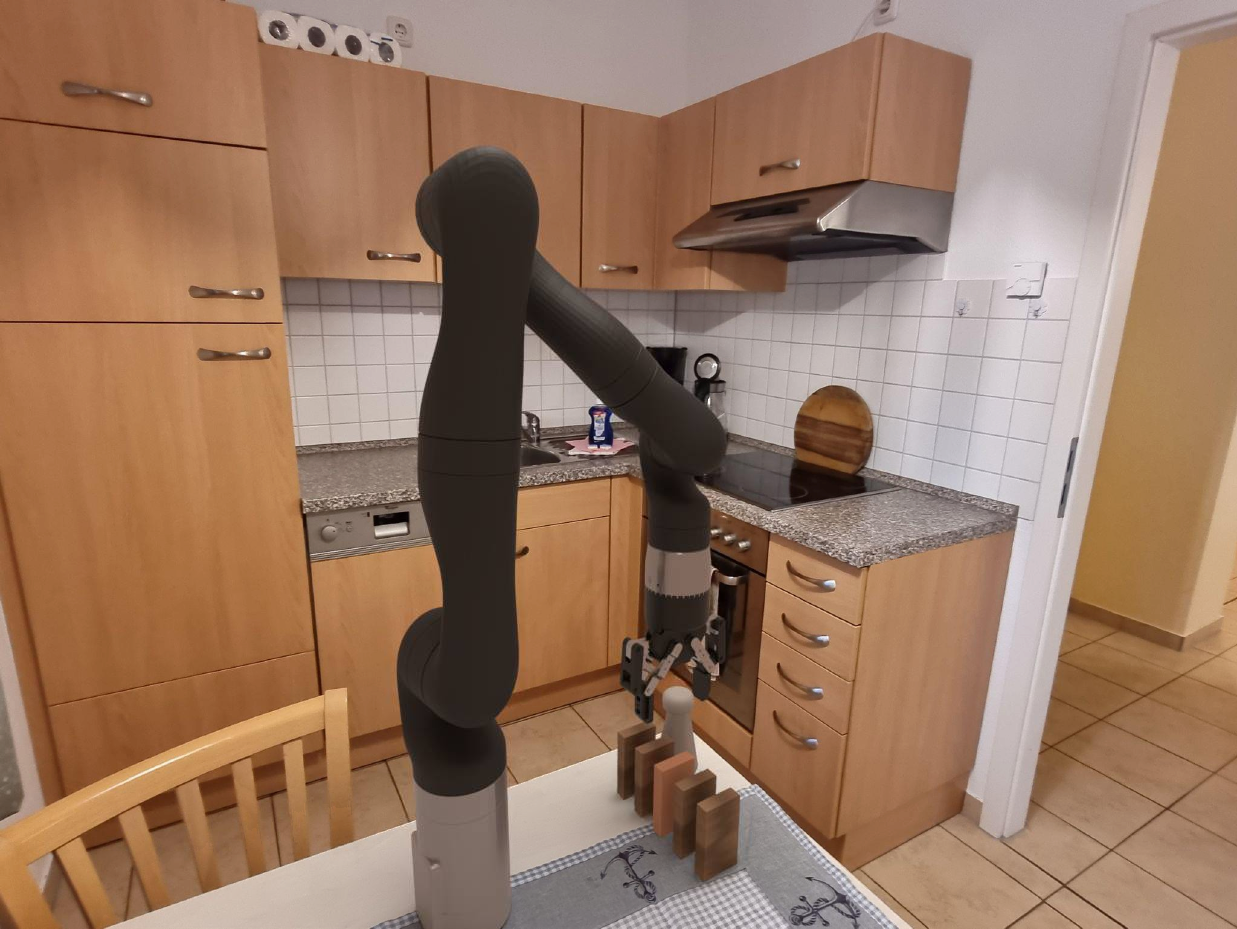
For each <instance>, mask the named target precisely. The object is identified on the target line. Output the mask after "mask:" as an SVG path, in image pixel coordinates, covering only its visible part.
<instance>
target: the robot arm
mask: <svg viewBox="0 0 1237 929" xmlns="http://www.w3.org/2000/svg"><path fill="white" fill-rule="evenodd" d="M414 203H415V204H414V208H415V209H414V212H415V213H414V214H415V220H416V226H417V228H418V231H419V233H420V235H421V237H422V238H423V240H424V242H425V243H426V245H427V246H428V247H429V248H430V250H432V252H434V253H435V255H438V256H439V257H440V258H441V259H440V260H441V286H442V287H441V288H442V290H441V292H442V293H441V294H442V299H441V316H440V325H439V331H438V334H437V340H436V343H435V347H434V350H433V353H432V354H433V355H432V357H431V361H430V365H429V367H428V372H427V375H426V378H425V383H424V388H423V390H422V396H421V402H420V407H419V415H418V416H419V417H418V428H417V430H418V433H417V461H416V462H417V466H416V468H417V469H416V471H417V473H416V474H417V488H418V493H419V494H418V495H419V500H420V504H421V509H422V511H423V516H424V519H425V523H426V525H427V528H428V530H427V531H428V533H429V537H430V540H431V543H432V547H433V551H434V554H435V557H436V560H437V561H436V562H437V565H438V568H439V573H440V579H441V580H440V581H441V590H442V606H439V607H435V608H432V609H429V610H427V611H425V612H423V613H422V614H420V616H418V617H417V618H416V619H414V621H413V622H412V623H411V624H410V626H409V627H408V628H407V630H406V631H405V633H404V635H403V637H402V638H401V642H400V644H399V648H398V651H397V658H396V684H397V686H396V688H397V696H398V704H399V714H400V723H401V730H402V732H401V733H402V737H403V743H404V745H405V746H404V747H405V749H406V750H407V754H408V756H409V758H410V760H411V765H412V777H413V778H412V779H413V792H414V796H413V797H414V811H415V825H416V826H415V827H416V830H414V831H413V832H411V834H410V840H411V855H412V857H411V859H412V870H413V885H414V886H413V887H414V890H413V891H414V904H415V911H416V914H417V916H418V919H419V921H420V923H421V925H422V928H423V929H502V927H503V926H504V925H505V923H506V922H507V920H508V919H509V915H510V913H511V906H512V894H511V893H512V883H511V860H510V859H511V858H510V857H511V856H510V831H509V830H510V829H509V827H510V826H509V825H510V824H509V797H508V793H509V792H508V766H507V764H508V763H507V762H508V760H507V759H508V755H507V752H508V751H507V741H506V738H505V734H504V732H503V730H502V728H501V725H500V724H499V723H498V721H497V719H496V718H497V717H498V716H499V715H500V714H501V712H502V711H504V709H505V707H506V706H507V705H508V703H509V701H510V699H511V697H512V695H513V693H514V690H515V688H516V683H517V680H518V676H519V674H518V673H519V667H520V644H519V629H518V628H519V627H518V611H517V608H518V607H517V594H516V592H517V591H516V554H517V531H518V530H517V526H518V525H517V522H518V519H517V518H518V501H519V500H518V499H519V498H518V497H519V487H520V486H519V485H520V477H521V476H520V474H521V458H522V436H523V433H522V432H523V398H524V397H523V393H524V372H525V371H524V370H525V365H524V364H525V331H526V328H525V327H526V326H527V328H528V329H530V330H531V331H532V333H534V334H535V335H536V336H537V337H538V338H539V339H540V340H541V341H542V342H543V343H544V344H546V346H547V347H548V348H550V349H549V350H551V351H553V353H554V354H555V355H556V356H558V358H559V359H560V360H561V361H562V362H563V363H564V364H565V365H566V366H567V367H568V368H569V369H570V370H571V371H572V373H574V375H575V376H576V377H578V378H579V380H580V381H581V382H582V383H583V384H584V385H585V386H586V387H587V388H588V389H589V390H590V392H592V393H593V395H594V396H595V397H596V398H598V400H599V401H600V402H601V403H602V404H603V405H604V406H605V407H606V409H608V410H609V411H610V412H611V413H612V414H614V415H615V416H617V417H618V418H619V419H620V420H622V421H624V422H626V423H629V424H631V425H632V426H634V427H635V428H636V429H638V430H639V431H640V432H639V437H638V455H639V462H640V463H639V464H640V470H641V475H642V481H643V484H644V485H643V486H644V491H645V494H646V498H647V502H648V519H647V520H648V527H647V528H648V529H647V530H648V531H647V532H648V533H647V549H646V555H645V562H644V604H643V610H644V611H643V612H644V613H643V616H644V619H645V622H646V627H647V628H646V630H645V634H644V636H643V637H641V638H637V639H632V638H631V637H629V636H627V637H625V638H623V640H622V645H621V646H622V647H621V658H620V659H621V660H620V661H621V662H620V677H619V685H620V686H621V687H622V688H624V689H625V691H627V692H628V693H629V694H631V695H633V696H634V714H635V715H636V717H637V718H639V719H640V720H641V721H642V722H645V723H646V724H648V723H651V722H652V723H653V722H654V713H655V712H654V708H655V706H654V705H655V694H654V693H653V692H654V691H655V689H656V687H657V685H658V683H659V682H660V681H661V680H664V679H665V677H666V676H667V674H668V672H669V670H670V669H673V668H677V666H679V665H680V664H687V663H690V662H691V661H692V662H693V664H695V666H693V668H692V681H691V682H692V687H691V692H692V694H693V695H694V698H696V699H697V700H699V701H700V702H705V701H708V699H709V695H710V692H711V690H712V689H711V688H712V687H711V685H712V673H713V671H714V670H715V666H716V665H718V664H721V665H722V664H724V662H726V658H727V655H726V654H727V651H726V650H727V648H726V646H727V643H726V641H727V640H726V639H727V637H726V635H727V634H726V633H727V630H726V629H727V628H726V626H727V625H726V624H727V622H726V619H725V618H724V617H721V616H720V615H718V614H715V613H713V612H711V611H710V605H711V604H710V601H711V579H712V577H711V576H712V559H711V557H712V556H711V528H712V527H711V525H712V507H711V503H710V501H709V498H708V497H707V496H706V495H705V494H704V493H703V492H702V491H701V490H700V488H698V486H697V484H696V481H695V480H696V479H695V477H698V476H699V477H700V476H704V475H708V474H710V473H712V472H714V471H715V470H716V469H718V468H719V467H720V465H721V464H722V463H723V461H724V459H725V457H726V453H727V450H728V439H727V435H726V434H727V433H726V431H725V429H724V426H723V425H722V422H721V421H720V419H719V418H718V417H717V414H715V413H714V411H712V409H710V407H709V406H707V405H706V404H705V403H704V402H703V401H702V400H700V399H699V398H698V397H697V396H696V395H695V394H693V393H692V392H691V391H690V390H688V389H687V388H686V387H685V386H684V385H682V384H681V383H679V382H678V380H676V379H674V378H672V377H671V375H669V374H668V373H667V372H666V371H665V370H664V369H663V367H662V366H661V365H660V364H659V362H658V361H657V359H655V357H653V355H652V354H651V353H650V352H649V351H648V349H647V347H645V346H644V345H643V344H642V342H640V340H639V339H638V338H637V337H636V335H635V334H634V333H632V331H631V330H630V329H629V328H628V327H627V326H625V324H624V323H623V322H622V321H620V320H619V319H618V318H617V317H615V315H613V314H612V313H611V312H609V311H608V310H607V309H606V308H605V307H603V306H602V305H601V304H599V303H598V302H596V301H595V300H594V299H593V298H591V297H589V296H588V295H587V294H586V293H584V292H583V291H582V290H580V289H579V288H578V287H576V286H575V285H574V284H573V283H571V282H570V280H569V281H568V279H566V278H565V277H564V275H562V274H561V273H560V272H559V271H558V270H557V269H555V267H554V266H553V265H552V264H550V262H549V261H548V260H547V259H546V258H545V257H544V256H543V255H542V254H541V253H540V251H539V250H538V249H537V243H538V242H537V241H538V236H539V235H538V234H539V227H540V204H539V197H538V191H537V189H536V185H535V183H534V181H533V179H532V177H531V174H530V173H529V172H528V170H527V169H526V167H525V166H524V164H523V163H522V162H521V161H520V160H519V159H518V158H517V157H516V156H514V154H512V153H511V152H509V151H508V150H505V149H503V148H501V147H497V146H494V145H480V146H479V145H477V146H473V147H470V148H467V149H464V150H462V151H460V152H458V153H456V154H454V155H453V156H452V157H450V158H448V159H447V160H446V161H444V162H443V163H442V164H440V166H438V167H437V168H436V169H434V171H432V172H431V173H430V174H429V175H428V176H427V177H426V178H425V179H424V180H423V181H422V183H421V185H420V187H419V190H418V192H417V193H416V199H415V202H414ZM703 640H704V646H703V644H702V641H703ZM653 660H655V661H656V663H659V665H658V666H657V667H656V666H654V665H653ZM648 675H650V676H649V677H648ZM647 677H648V679H647ZM646 679H647V680H646Z"/></svg>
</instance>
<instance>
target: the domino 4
mask: <svg viewBox="0 0 1237 929" xmlns="http://www.w3.org/2000/svg"><path fill="white" fill-rule="evenodd" d="M717 776H718V775H717V774H715V773H714V772H713V771H711V769H709V768H706V769H704V770H701V771H699V772H697V773H695V774H694V775H692V776H690V777H688V778H686V779H684V780H681V781H679V782H677V783H675V790H674V827H673V832H672V834H673V835H672V851H673V852H674V854H676V855H677V857H679V858H680V860H683V859H684V858H686V857H689V856H690V855H692V854H694V853H695V845H696V815H697V803H699V802H701V801H703V800H705V799H707V798H709V797H711V796H714V795H716V794H717Z"/></svg>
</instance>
